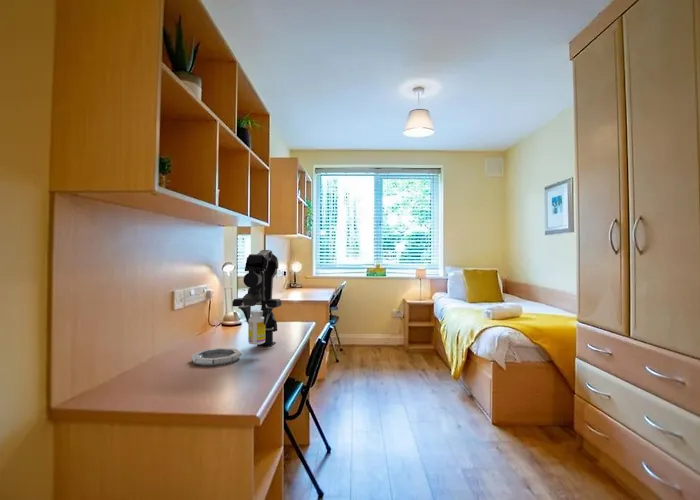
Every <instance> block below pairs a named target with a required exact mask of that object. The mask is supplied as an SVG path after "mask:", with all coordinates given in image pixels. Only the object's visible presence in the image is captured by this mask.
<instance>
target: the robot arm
mask: <svg viewBox="0 0 700 500" xmlns="http://www.w3.org/2000/svg"><path fill="white" fill-rule="evenodd" d="M244 267H245V268H244V272H247V273H245V275H244V276H243V284H244V286H246V287H247V293H245V295H244V296H243V297H237V298H234V299H233V301H232V307H237V308H238V310H239V309H240V310H241V311H242V313H243V315H244V318H245V320H246V323H247V324H248V320H249V318H250V317H251V311H252V308H251V307H255V306H261V308H260V310H262V311H263V315H262V317H264V325H265V343H263V344H256V346H258V347H271V346H273V345H275V344H276V343H277V342H276V341H274V333H275V332H278V323H277V320H276V317H275V314H274V312H273V309H276V308H279V307H282V301H281V298H273V285H274V284H273V283H274V278H275V276H276V275H277V273H278V270H279V259H278V257H277V256H276V255H275V254H273V251H272V250H271V249H261V250H259V252H258V253H257V254H256V253H255V254H254V253H251V254H248V256H247V257H246V262H245V266H244Z"/></svg>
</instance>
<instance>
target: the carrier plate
mask: <svg viewBox="0 0 700 500" xmlns="http://www.w3.org/2000/svg"><path fill="white" fill-rule="evenodd" d="M241 357H242V352H241V351H240V350H239V349H237V348H229V347H217V348H210V349H203V350H200V351H197V352H194V353H193V354H191V361H192V364H193V365H195V366H199V367H220V366H221V367H222V366H227V365H230V364H234V363H236V362H238V361H239V360H240V358H241Z"/></svg>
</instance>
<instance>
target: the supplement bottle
mask: <svg viewBox="0 0 700 500" xmlns="http://www.w3.org/2000/svg"><path fill="white" fill-rule="evenodd" d="M262 315H263V311H262V310H261V309H256V310H251V315H250V318H249V320H248V323H247V325H248V326H247V327H248V331H247V332H248V333H247V334H248V335H247V337H248V340H247V341H248V344H249V345H257V344H263V343H265V325H264V317H262Z"/></svg>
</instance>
